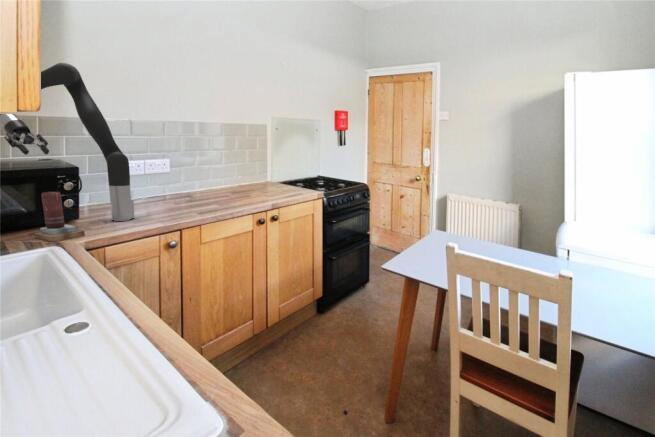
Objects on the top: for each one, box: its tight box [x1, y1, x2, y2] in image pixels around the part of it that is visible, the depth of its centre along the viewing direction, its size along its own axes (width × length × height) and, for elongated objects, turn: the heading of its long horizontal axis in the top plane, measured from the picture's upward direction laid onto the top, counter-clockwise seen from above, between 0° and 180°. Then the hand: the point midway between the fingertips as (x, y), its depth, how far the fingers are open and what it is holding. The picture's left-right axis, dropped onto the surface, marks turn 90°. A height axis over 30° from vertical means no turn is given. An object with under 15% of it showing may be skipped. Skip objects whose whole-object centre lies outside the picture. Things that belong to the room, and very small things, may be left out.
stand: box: [33, 223, 86, 242], centre depth 150 cm, size 12×12×4 cm
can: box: [41, 191, 66, 228], centre depth 148 cm, size 6×6×14 cm
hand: (37, 153), depth 158 cm, fingers open, 8 cm apart
